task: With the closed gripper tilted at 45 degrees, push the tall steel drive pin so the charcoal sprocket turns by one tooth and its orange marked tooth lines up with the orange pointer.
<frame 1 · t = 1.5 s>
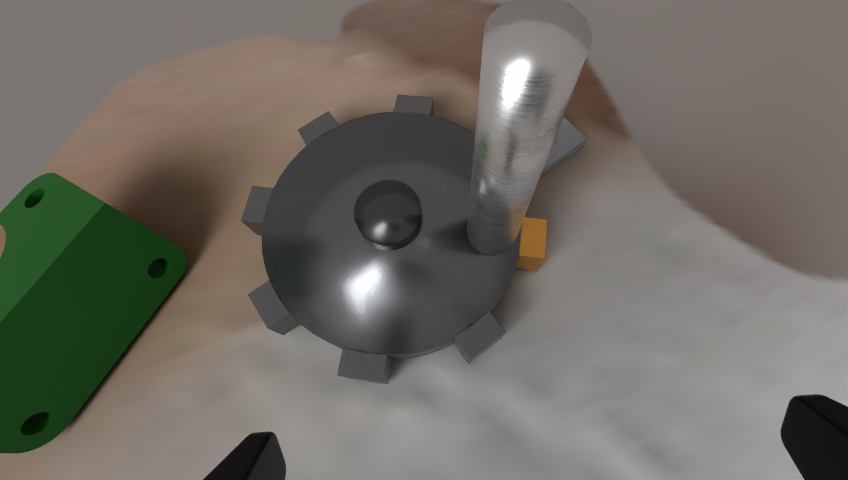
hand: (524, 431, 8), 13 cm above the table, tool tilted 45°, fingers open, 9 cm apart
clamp: (88, 317, 23), on the table
sprocket: (373, 168, 17), point 7 cm above the table, hinge at 0.0°
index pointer: (538, 138, 25), on the table
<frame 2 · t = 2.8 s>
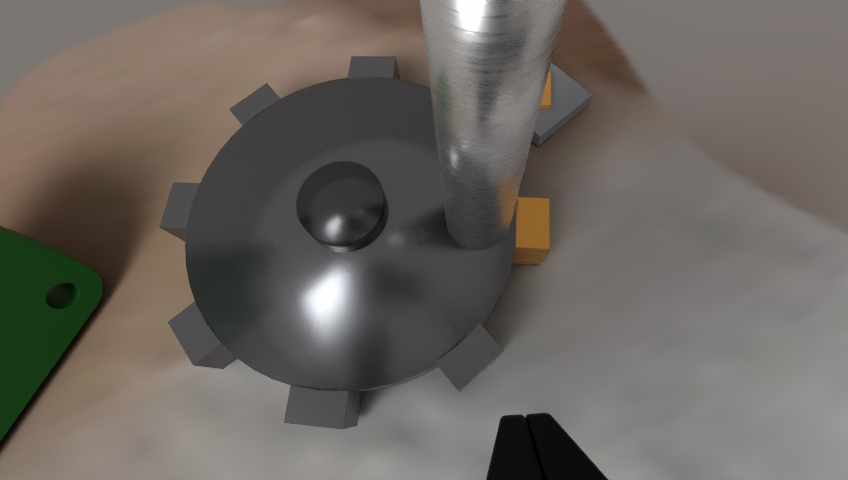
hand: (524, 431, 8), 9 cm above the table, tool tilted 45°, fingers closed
sprocket: (301, 141, 12), point 7 cm above the table, hinge at 0.0°
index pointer: (531, 99, 20), on the table
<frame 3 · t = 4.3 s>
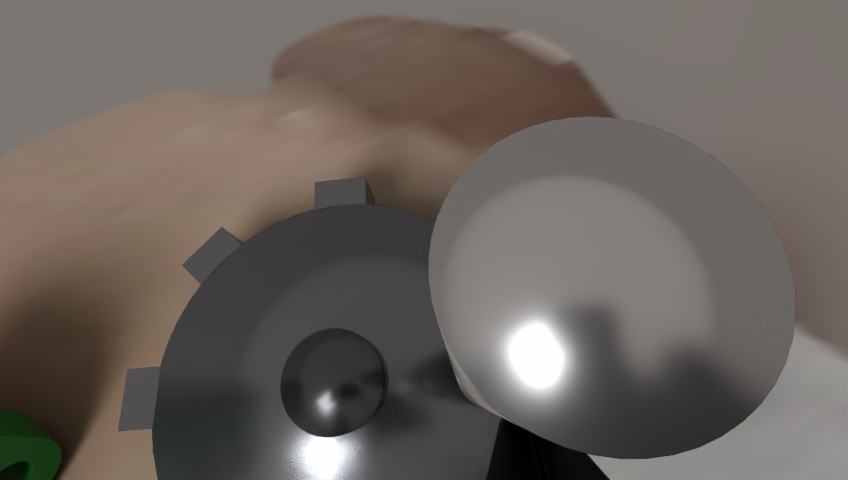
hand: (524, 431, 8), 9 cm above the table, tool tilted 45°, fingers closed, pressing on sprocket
sprocket: (283, 374, 10), point 7 cm above the table, hinge at 8.9°, touching gripper
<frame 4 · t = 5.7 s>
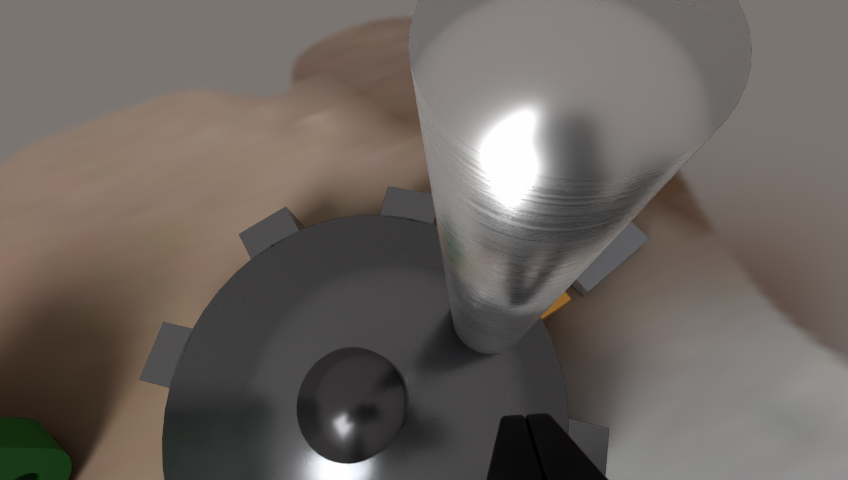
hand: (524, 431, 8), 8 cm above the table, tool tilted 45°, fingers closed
sprocket: (304, 405, 9), point 7 cm above the table, hinge at 38.7°
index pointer: (575, 233, 17), on the table
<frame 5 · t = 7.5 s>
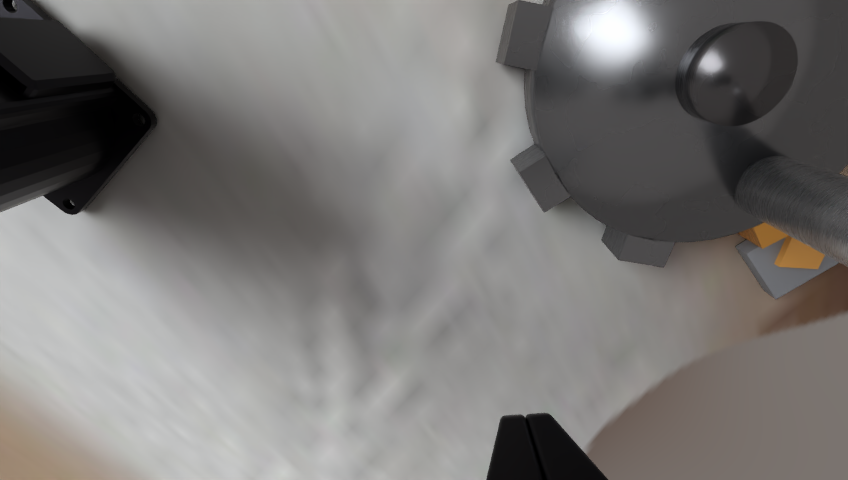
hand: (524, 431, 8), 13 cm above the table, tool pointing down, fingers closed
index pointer: (790, 244, 20), on the table
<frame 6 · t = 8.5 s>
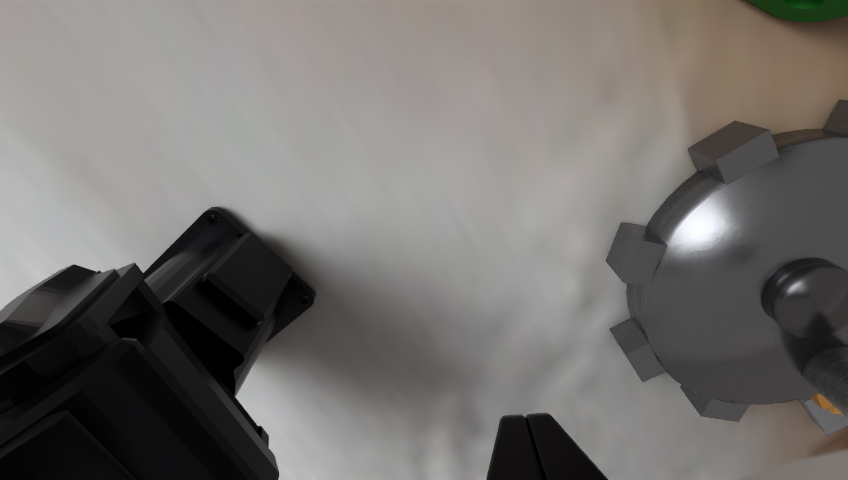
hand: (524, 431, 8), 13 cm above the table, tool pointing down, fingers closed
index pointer: (841, 390, 24), on the table
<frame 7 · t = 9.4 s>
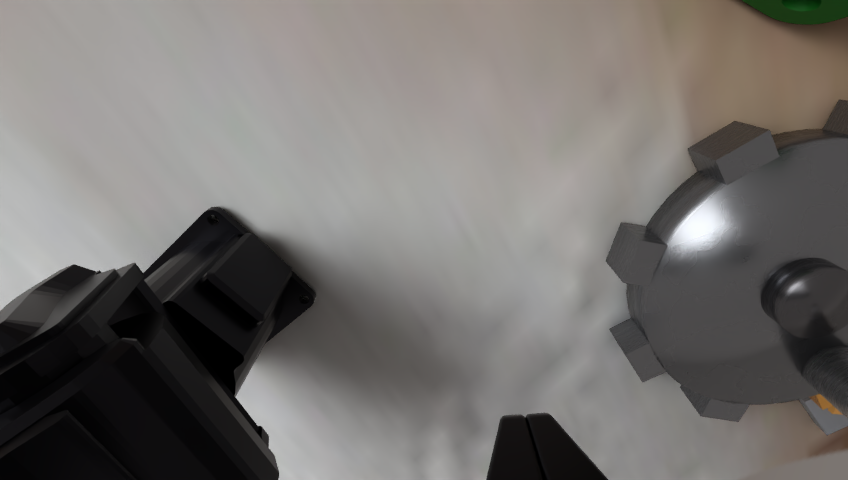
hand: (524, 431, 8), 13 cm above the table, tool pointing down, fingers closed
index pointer: (840, 390, 24), on the table
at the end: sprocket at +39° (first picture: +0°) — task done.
